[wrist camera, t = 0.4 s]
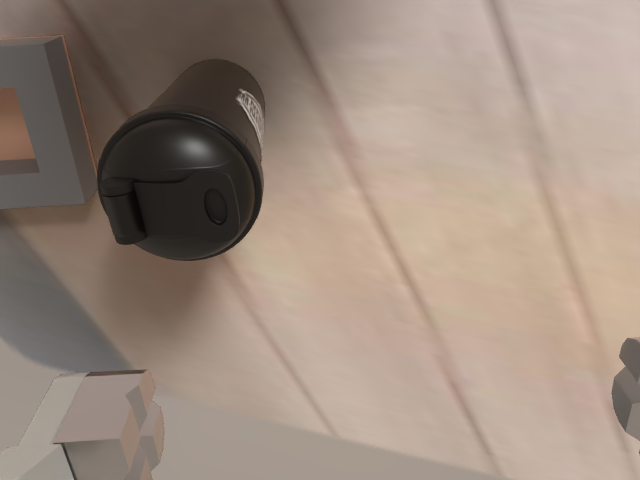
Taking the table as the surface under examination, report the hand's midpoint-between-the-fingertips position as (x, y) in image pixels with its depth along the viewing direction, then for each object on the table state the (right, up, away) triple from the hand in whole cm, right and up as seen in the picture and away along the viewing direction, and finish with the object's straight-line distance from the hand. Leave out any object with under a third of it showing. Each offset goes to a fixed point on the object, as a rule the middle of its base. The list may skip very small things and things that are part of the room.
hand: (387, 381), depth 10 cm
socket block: (-29, +14, +44) cm, 54 cm away
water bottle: (-10, +15, +44) cm, 48 cm away
